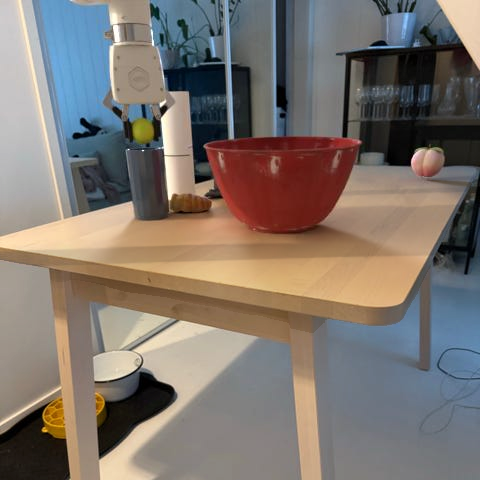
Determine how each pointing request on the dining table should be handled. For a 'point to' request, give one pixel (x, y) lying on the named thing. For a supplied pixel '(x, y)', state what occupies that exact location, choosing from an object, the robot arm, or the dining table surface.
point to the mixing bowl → (282, 179)
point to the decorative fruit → (428, 161)
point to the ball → (142, 130)
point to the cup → (148, 183)
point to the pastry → (189, 203)
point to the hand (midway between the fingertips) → (143, 140)
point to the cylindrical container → (178, 146)
